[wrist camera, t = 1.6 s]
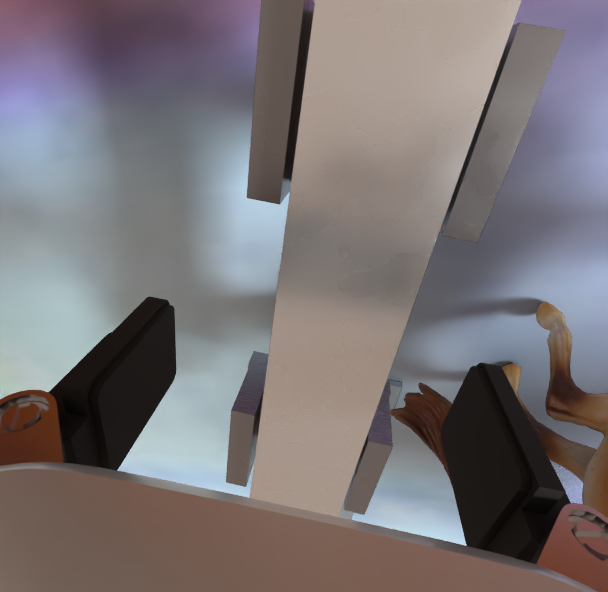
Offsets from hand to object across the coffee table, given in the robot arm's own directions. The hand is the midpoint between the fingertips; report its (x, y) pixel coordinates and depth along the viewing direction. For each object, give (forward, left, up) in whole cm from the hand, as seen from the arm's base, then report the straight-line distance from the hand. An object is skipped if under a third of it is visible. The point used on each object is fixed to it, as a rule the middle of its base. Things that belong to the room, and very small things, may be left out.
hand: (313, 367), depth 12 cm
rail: (0, 0, -5) cm, 5 cm away
